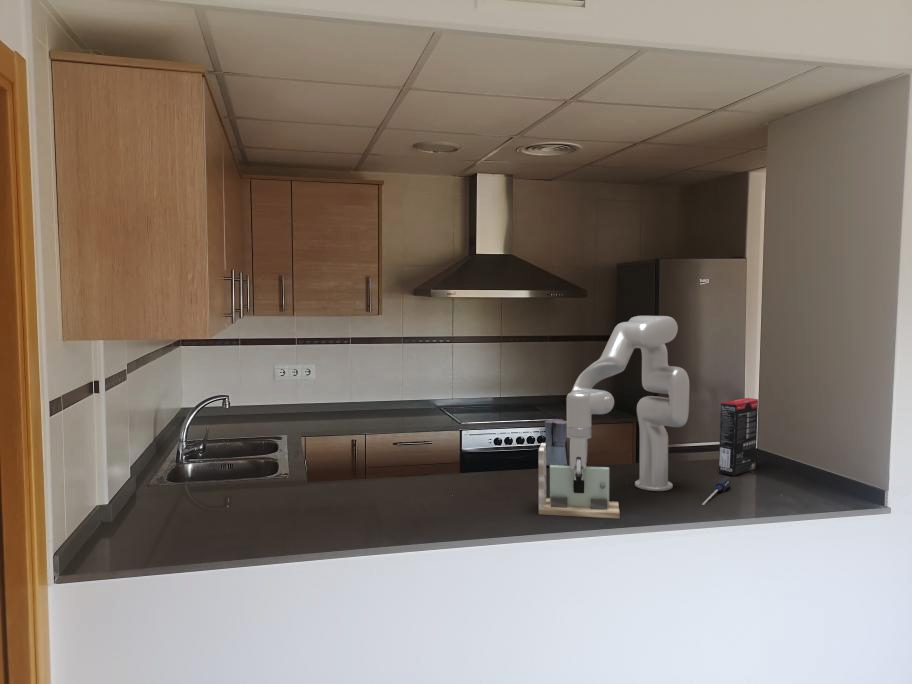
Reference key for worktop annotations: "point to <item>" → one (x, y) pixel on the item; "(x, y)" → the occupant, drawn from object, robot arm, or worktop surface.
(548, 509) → the hinge base
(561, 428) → the moka pot
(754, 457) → the graphics card box
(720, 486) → the screwdriver
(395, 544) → the worktop surface
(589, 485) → the door
